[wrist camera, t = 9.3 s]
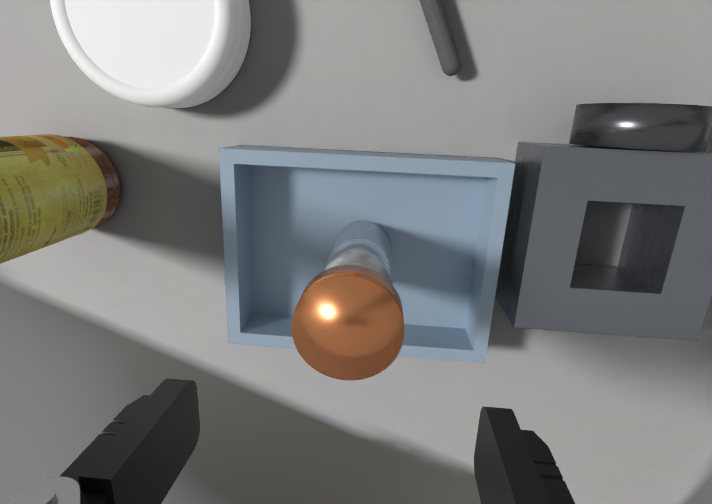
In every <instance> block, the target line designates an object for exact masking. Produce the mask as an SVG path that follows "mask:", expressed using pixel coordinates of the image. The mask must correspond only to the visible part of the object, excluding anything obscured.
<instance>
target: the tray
mask: <svg viewBox="0 0 712 504" xmlns="http://www.w3.org/2000/svg"><path fill="white" fill-rule="evenodd" d="M219 161H220V182H221V203H222V223H223V244H224V265H225V285H226V306H227V327H228V343H231V344H244V345H257V346H270V347H283V348H295V349H297V348H296V346H295V344H294V341H293V337H292V331H291V323H292V316H293V313H294V310H295V307H296V305H297V303H298V301H299V299H300V297H301V295H302V293H303V291H304V290H305V288H306V286H307V285H308V284H309V282H310V281H311V280H312V279H313V278H314V277H315V276H317V275H318V274H319V273H321V272H322V271H323V269H324V267H325V265H326V262H327V260H328V258H329V255H330V253H331V251H332V249H333V246H334V244H335V242H336V239H337V237H338V235H339V233H340V232H341V230H342V229H343V228H344V227H345V226H347V225H348V224H350V223H352V222H355V221H360V220H366V221H371V222H374V223H376V224H378V225H380V226H381V227H382V228H383V229H384V230H385V231H386V232H387V234H388V235H389V238H390V241H391V249H392V281H393V286H394V288H395V289H396V291H397V292H398V294H399V297H400V299H401V302H402V307H403V316H404V341H403V344H402V348H401V350H400V352H399V354H398V355H397V356H399V357H412V358H425V359H438V360H451V361H464V362H477V363H485V360H486V354H487V347H488V341H489V334H490V327H491V321H492V314H493V308H494V301H495V295H496V288H497V281H498V275H499V268H500V262H501V255H502V248H503V242H504V235H505V229H506V222H507V215H508V209H509V202H510V196H511V189H512V182H513V176H514V169H515V163H513V162H509V161H506V160H503V159H500V158H486V157H466V156H446V155H426V154H407V153H387V152H367V151H347V150H328V149H308V148H288V147H268V146H249V145H237V146H230V147H224V148H219Z"/></svg>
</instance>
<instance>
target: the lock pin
mask: <svg viewBox="0 0 712 504" xmlns="http://www.w3.org/2000/svg"><path fill="white" fill-rule="evenodd" d="M291 331H292V337H293V341H294V344H295V346H296V348H297V350H298V352H299V354H300V355H301V356H302V358H303V359H304V360H305V361H306V362H307V363H308V364H309V365H310V366H311V367H312V368H314V369H315V370H317V371H318V372H320V373H322V374H324V375H326V376H329V377H332V378H336V379H341V380H360V379H365V378H368V377H371V376H374V375H376V374H378V373H380V372H381V371H383V370H384V369H386V368H387V367H388V366H389V365H390V364H391V363H392V362H393V361H394V360H395V358H396V357H397V355H398V354H399V352H400V350H401V348H402V344H403V341H404V316H403V307H402V302H401V299H400V297H399V294H398V292H397V291H396V289H395V288H394V286H393V281H392V249H391V241H390V238H389V235H388V234H387V232H386V231H385V230H384V229H383V228H382V227H381V226H380V225H378V224H376V223H374V222H371V221H366V220H360V221H355V222H352V223H350V224H348V225H347V226H345V227H344V228H343V229H342V230H341V232H340V233H339V235H338V237H337V239H336V242H335V244H334V246H333V249H332V251H331V253H330V255H329V258H328V260H327V262H326V265H325V267H324V269H323V271H322V272H321V273H319V274H318V275H317V276H315V277H314V278H313V279H312V280H311V281H310V282H309V284H308V285H307V286H306V288H305V290H304V291H303V293H302V295H301V297H300V299H299V301H298V303H297V305H296V307H295V310H294V313H293V316H292V323H291Z"/></svg>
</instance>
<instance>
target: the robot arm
mask: <svg viewBox="0 0 712 504" xmlns="http://www.w3.org/2000/svg"><path fill="white" fill-rule="evenodd" d="M199 432H200V421H199V409H198V397H197V386H196V383H195V382H194V381H191V380H180V379H165V380H164V381H163V382H162V383H161V384H160V385H159V386H158V388H157V389H156V390H155V391H154V392H153V393H152V394H151V395H150V396H149V395H144V396H142V397H140V398H139V399H137V400H136V401H134V402H132V403H131V404H129V405H127V406H126V407H125V408H124V409H123V410H122V411H121V412H120V413H119V414H118V415H117V416H116V418H114V420H113V422H112V423H110V424H109V425H108V426H107V427H106V428H105V429H104V430H103V431H102V434H99V435H98V436H97V437H96V439H95V440H94V441H93V442H92V443H91V444H90V445H89V446H88V447H87V448H86V449H85V450H84V451H83V452H82V453H81V454H80V455H79V457H78V458H77V459H76V460H75V461H74V462H73V463H72V464H71V465H70V466H69V467H68V468H67V469H66V470H65V471H64V472H63V473H62V474H61V476H60V477H52V478H48V479H44V480H41V481H38V482H36V483H34V484H31V485H29V486H27V487H26V488H24V489H22V490H21V491H19V492H18V493H17V494H15V495H14V496H13V497H12V498H11V499H10V500H9V501H8V502H7V503H6V504H161V503H162V501H163V500H164V498H165V496H166V495H167V493H168V491H169V490H170V488H171V487H172V485H173V483H174V482H175V480H176V478H177V477H178V475H179V474H180V472H181V470H182V469H183V467H184V465H185V464H186V462H187V460H188V459H189V457H190V456H191V454H192V452H193V451H194V449H195V447H196V444H197V441H198V438H199ZM474 470H475V478H476V483H477V487H478V491H479V496H480V500H481V504H575V502H574V500H573V498H572V496H571V494H570V492H569V490H568V488H567V485H566V483H565V481H563V479H562V478H563V477H562V475H561V473H560V471H559V469H558V466H556V462H555V460H554V458H553V456H552V454H551V452H550V449H549V447H548V446H547V445H546V444H545V443H544V442H543V441H542V440H541V439H540V438H539V437H538V436H537V435H536V433H535V432H534V431H528V430H521V429H520V427H519V424H518V422H517V419H516V417H515V415H514V412H513V411H512V409H505V408H494V407H482V409H481V413H480V420H479V426H478V433H477V440H476V447H475V454H474Z"/></svg>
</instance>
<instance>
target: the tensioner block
mask: <svg viewBox="0 0 712 504" xmlns="http://www.w3.org/2000/svg"><path fill="white" fill-rule="evenodd" d="M711 127H712V107H710V106H699V105H681V104H658V103H597V104H580V105H576V110H575V116H574V121H573V127H572V132H571V137H570V143H569V144H550V143H529V142H518V147H517V154H516V161H515V169H514V176H513V182H512V189H511V196H510V202H509V209H508V215H507V222H506V229H505V235H504V242H503V248H502V255H501V262H500V268H499V275H498V281H497V288H496V295H495V298H496V299H497V301H498V302H499V304H500V306H501V307H502V309H503V311H504V312H505V314H506V315H507V317H508V319H509V320H510V322H511V324H512V325H513V327H514V328H528V329H542V330H556V331H569V332H583V333H597V334H611V335H625V336H638V337H652V338H666V339H680V340H694V341H698V339H699V336H700V332H701V329H702V326H703V323H704V320H705V316H706V313H707V310H708V307H709V304H710V300H711V297H712V152H705V148H706V145H707V141H708V137H709V134H710V130H711ZM570 144H575V145H570ZM588 201H604V202H622V203H633V206H632V210H631V215H630V219H629V223H628V227H627V231H626V236H625V240H624V244H623V248H622V252H621V257H620V261H619V265H618V267H610V266H594V265H579V264H575V260H576V255H577V250H578V245H579V240H580V236H581V231H582V226H583V221H584V216H585V211H586V206H587V202H588Z"/></svg>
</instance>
